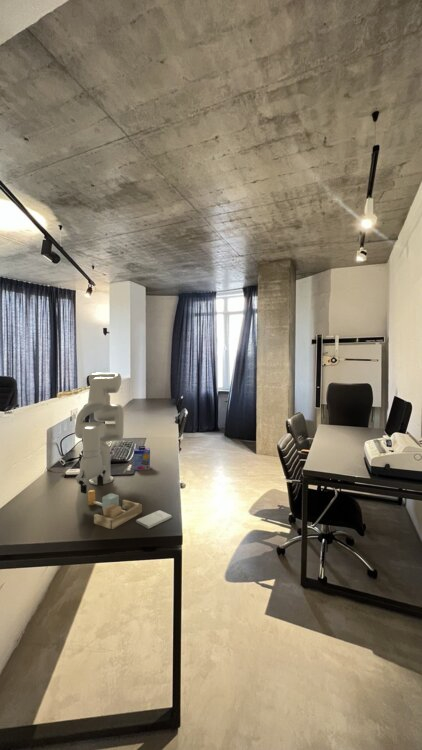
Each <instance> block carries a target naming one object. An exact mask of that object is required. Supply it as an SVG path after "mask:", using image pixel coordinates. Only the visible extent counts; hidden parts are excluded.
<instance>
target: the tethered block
mask: <svg viewBox="0 0 422 750" xmlns="http://www.w3.org/2000/svg"><path fill="white" fill-rule="evenodd" d="M87 498H88V499H87V501H88V502H87V505H88V506H94V505H98V506H101V507H102V511H103V509H104V508H106V507H108V506H110V505H112V504H114V505H117V506H120V501H119V500H120V496H119V495H118V494H117V493H116V494H114V493H112V492H110V493H107V494H105V495H103V496H102V499H101V502H100V501H96V490H95V489H90V490H88V491H87Z"/></svg>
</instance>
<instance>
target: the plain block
mask: <svg viewBox="0 0 422 750" xmlns="http://www.w3.org/2000/svg"><path fill="white" fill-rule="evenodd" d="M121 510H122V505H121V506H120V505H119V506H117V505H114V504H112V505H110V506H108V507H106V508H104V509H103V515H102V516H105V517H108V518H112V519H113V518H115V517H117V516H118V515H120V514H121Z"/></svg>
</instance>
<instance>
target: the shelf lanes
mask: <svg viewBox="0 0 422 750" xmlns="http://www.w3.org/2000/svg"><path fill="white" fill-rule="evenodd" d="M121 503H122V505H121V514H120V515H118V516H117V517H115V518H113V519H112V518H108V517H105V516H103V515H102V514H101V515H100V514H98V513H95V514H94V515H93V524H95V525H98V526H101V527H103V528H106V529H110V530H114V529H116V528H117V527H119V526H121V525H122V524H125V523H126V522H128V521H129V520H131V519H133V518H135V517H136V516H138V515H140V514H141V513H142V512H143V504H142V503H138V502H135V501H131V500H127V499H122V502H121Z"/></svg>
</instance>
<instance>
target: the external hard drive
mask: <svg viewBox="0 0 422 750" xmlns="http://www.w3.org/2000/svg"><path fill="white" fill-rule="evenodd" d="M172 518H173V516H172V515H171V514H169V513H167V512H165V511H162V510H160V509H159V510H156V511H154V512H151V513H149V514H147V515H145V516H142V517H139V518H138V519H135V523H136V524H138V525H141V526H142V527H143V528H146V529H150V528H153V527H154V526H158V525H160V524H161V523H163V522H166V521H168V520H170V519H172Z"/></svg>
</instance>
